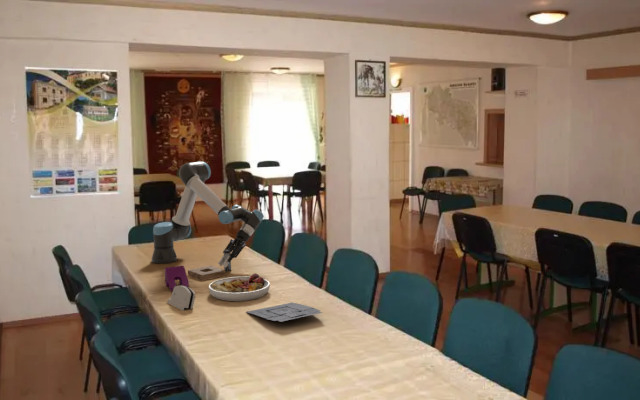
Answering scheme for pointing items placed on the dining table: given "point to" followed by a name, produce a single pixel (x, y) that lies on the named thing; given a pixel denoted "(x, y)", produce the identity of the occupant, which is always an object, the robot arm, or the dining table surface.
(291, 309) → the grey flat panel
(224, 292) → the bowl
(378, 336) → the dining table surface
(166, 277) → the mounting bracket
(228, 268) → the grey and black cylinder
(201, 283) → the dining table surface
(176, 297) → the napkin holder
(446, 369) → the dining table surface
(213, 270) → the socket block
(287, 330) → the dining table surface
